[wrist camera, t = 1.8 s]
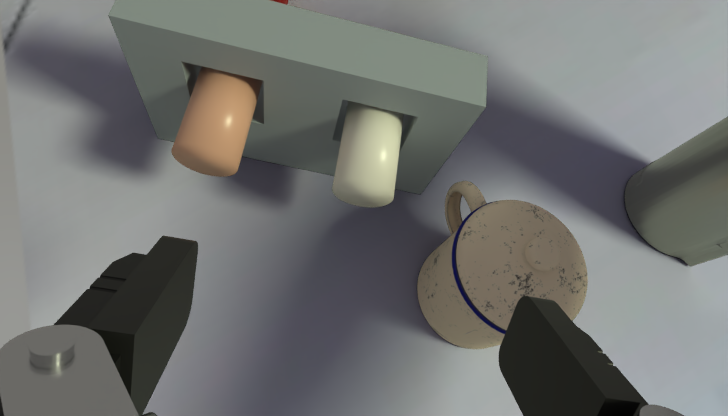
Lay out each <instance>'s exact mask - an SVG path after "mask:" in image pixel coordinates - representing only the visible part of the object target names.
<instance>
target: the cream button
mask: <svg viewBox="0 0 728 416" xmlns="http://www.w3.org/2000/svg"><path fill="white" fill-rule="evenodd" d="M403 116H404V114H403V113H399V112H395V111H390V110H386V109H382V108H378V107H373V106H369V105H365V104H361V103H356V102H352V101H348V105H347V110H346V116H345V121H344V127H343V132H342V138H341V143H340V149H339V154H338V160H337V165H336V171H335V176H334V181H333V187H332V192H333V194H334V195H335V196H336V197H337V198H338V199H340V200H342V201H344V202H346V203H349V204H352V205H355V206H360V207H381V206H385V205H387V204H389V203H391V202H392V201H393V199H394V191H395V183H396V175H397V166H398V158H399V150H400V141H401V133H402V125H403Z"/></svg>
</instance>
